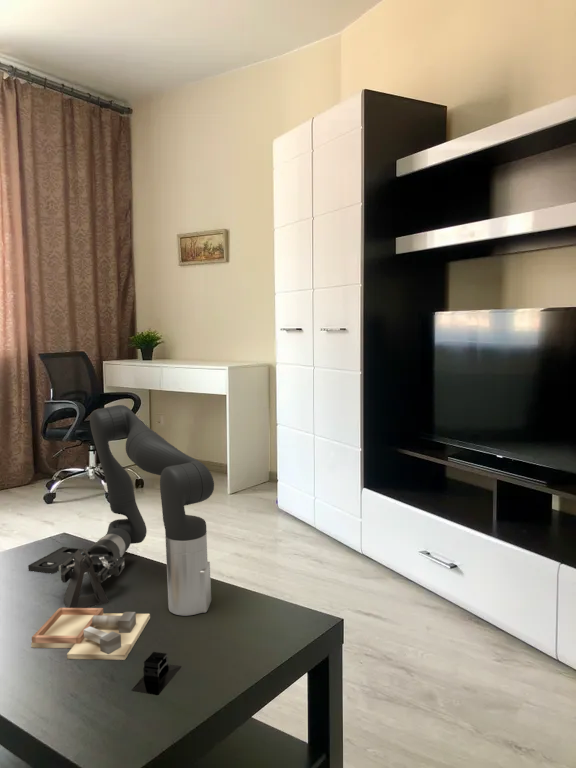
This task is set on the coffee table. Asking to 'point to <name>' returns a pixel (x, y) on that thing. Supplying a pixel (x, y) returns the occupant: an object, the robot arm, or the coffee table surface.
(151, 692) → the black slotted box
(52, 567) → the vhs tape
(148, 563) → the coffee table surface
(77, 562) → the phone stand
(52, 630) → the stand
